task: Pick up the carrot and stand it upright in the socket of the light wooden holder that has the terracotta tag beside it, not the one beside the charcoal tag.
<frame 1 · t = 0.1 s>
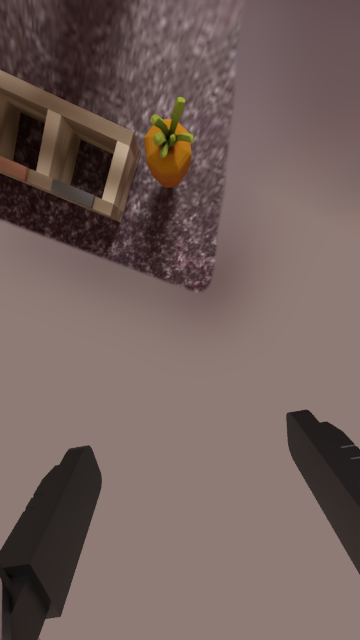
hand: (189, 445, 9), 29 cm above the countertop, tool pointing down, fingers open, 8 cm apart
carrot: (170, 181, 32), on the countertop
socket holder: (69, 163, 31), on the countertop
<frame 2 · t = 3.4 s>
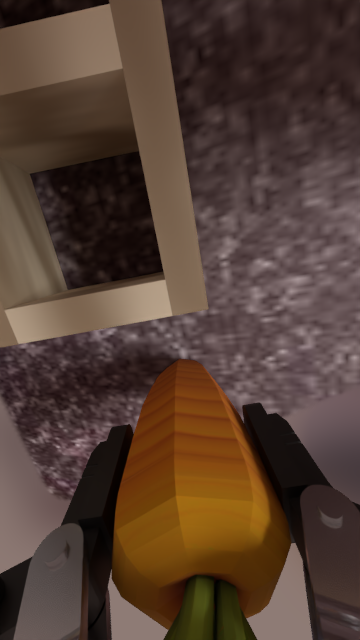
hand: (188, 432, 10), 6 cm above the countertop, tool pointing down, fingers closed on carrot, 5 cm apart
carrot: (183, 362, 16), on the countertop, touching gripper
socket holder: (83, 146, 12), on the countertop
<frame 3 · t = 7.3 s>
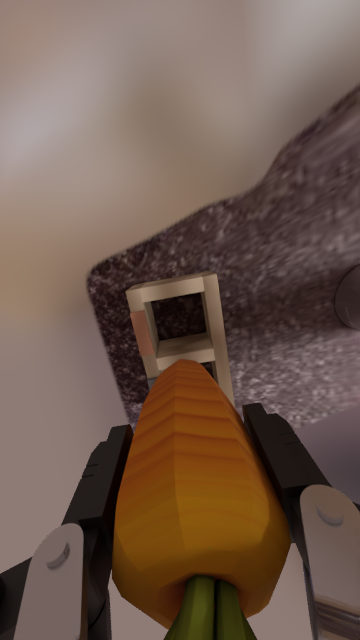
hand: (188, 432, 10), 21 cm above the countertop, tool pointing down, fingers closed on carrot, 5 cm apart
carrot: (183, 362, 16), point 14 cm above the countertop, touching gripper
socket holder: (183, 341, 31), on the countertop
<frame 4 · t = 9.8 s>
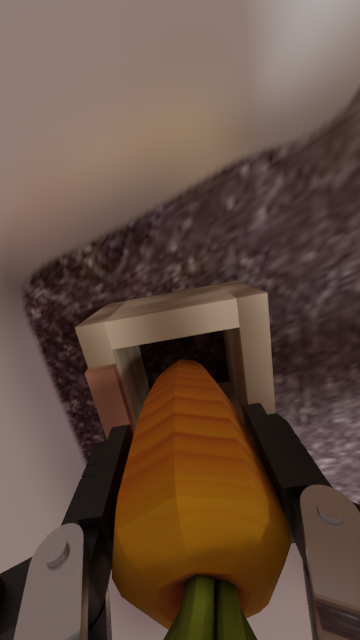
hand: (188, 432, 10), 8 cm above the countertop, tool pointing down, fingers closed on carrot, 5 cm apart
carrot: (183, 362, 16), point 2 cm above the countertop, touching gripper
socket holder: (191, 395, 19), on the countertop
when the fingers open (7 cm above the countertop, at t = 11.7 s): carrot stays where it is, resting in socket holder.
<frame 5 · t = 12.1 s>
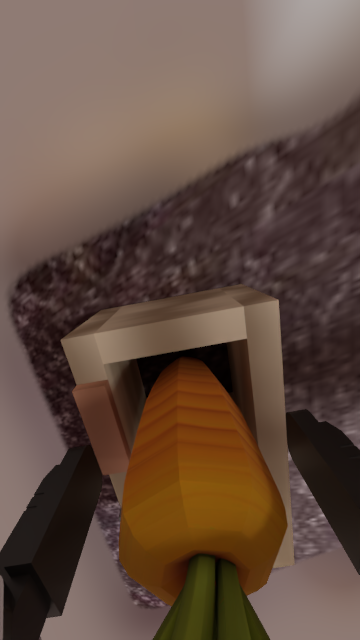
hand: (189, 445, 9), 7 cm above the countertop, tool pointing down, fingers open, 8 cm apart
carrot: (185, 359, 16), resting in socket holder
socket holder: (192, 407, 17), on the countertop
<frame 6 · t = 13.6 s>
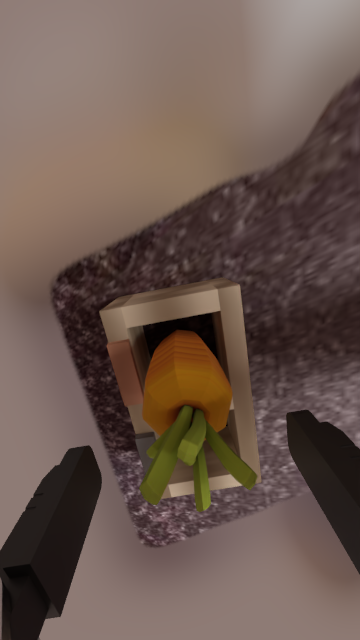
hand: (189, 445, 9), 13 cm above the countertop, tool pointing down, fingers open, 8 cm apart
carrot: (181, 335, 22), resting in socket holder
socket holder: (187, 372, 23), on the countertop
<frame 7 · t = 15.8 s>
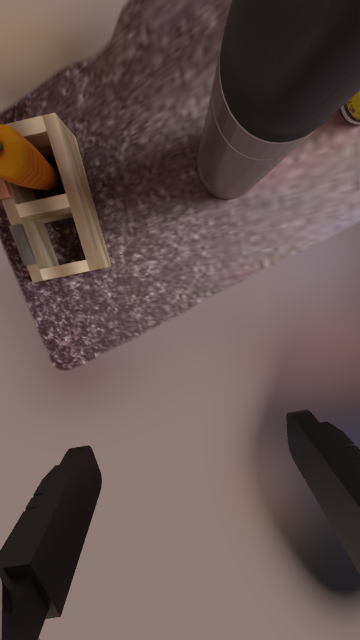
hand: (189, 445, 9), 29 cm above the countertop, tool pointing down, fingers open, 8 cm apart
carrot: (56, 183, 32), resting in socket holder
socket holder: (63, 213, 33), on the countertop
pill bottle: (359, 100, 30), on the countertop
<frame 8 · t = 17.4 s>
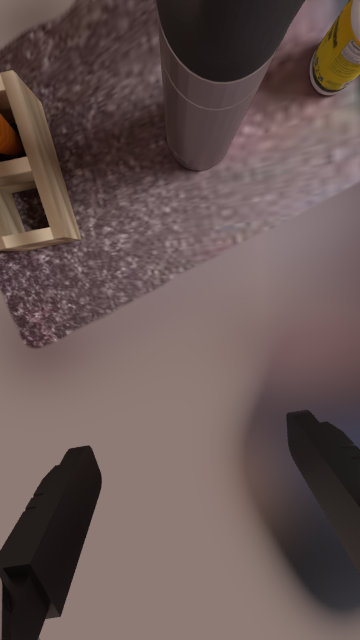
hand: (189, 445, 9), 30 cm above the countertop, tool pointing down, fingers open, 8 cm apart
carrot: (22, 151, 32), resting in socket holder
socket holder: (31, 183, 33), on the countertop
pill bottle: (329, 70, 30), on the countertop
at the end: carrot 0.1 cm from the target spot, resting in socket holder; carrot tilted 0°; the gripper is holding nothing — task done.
